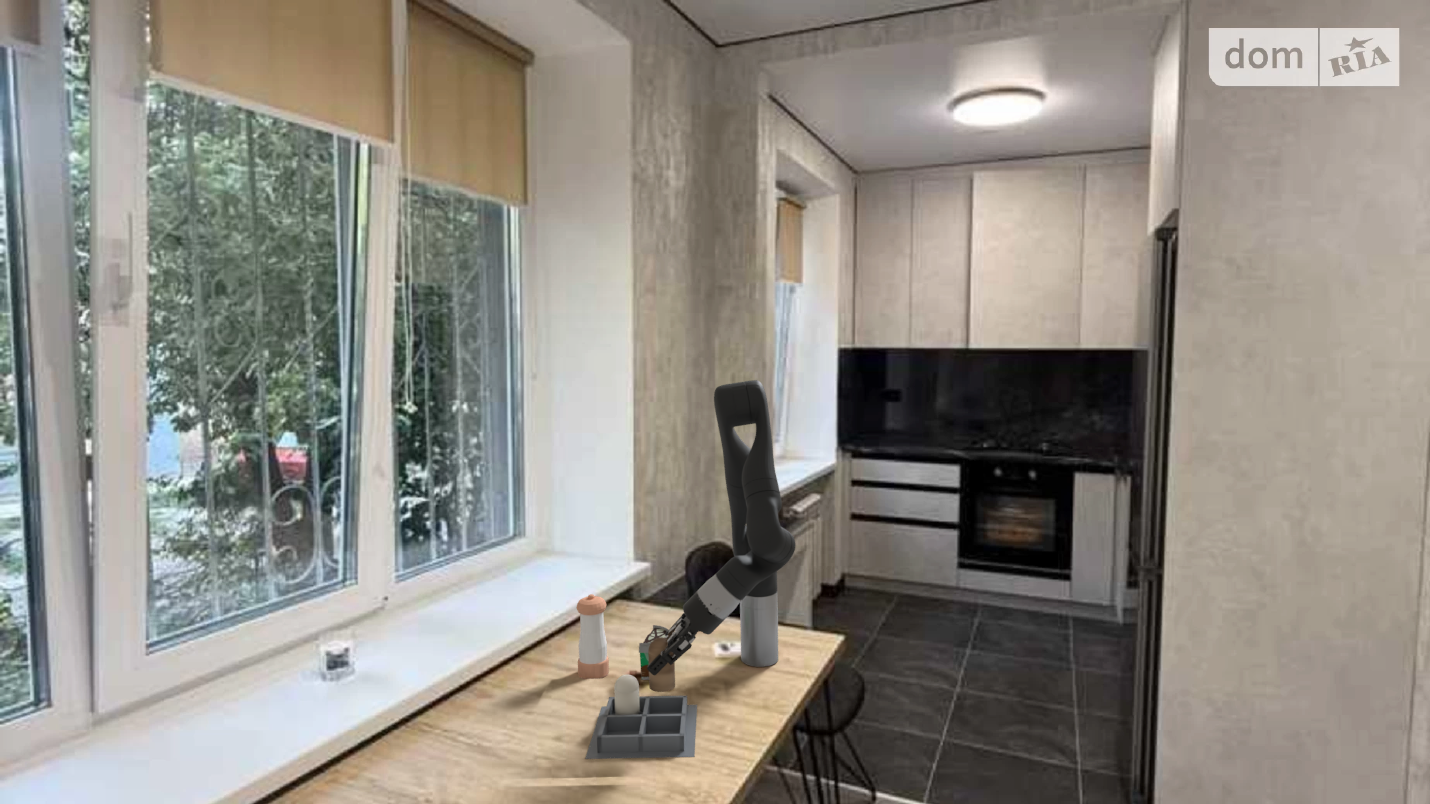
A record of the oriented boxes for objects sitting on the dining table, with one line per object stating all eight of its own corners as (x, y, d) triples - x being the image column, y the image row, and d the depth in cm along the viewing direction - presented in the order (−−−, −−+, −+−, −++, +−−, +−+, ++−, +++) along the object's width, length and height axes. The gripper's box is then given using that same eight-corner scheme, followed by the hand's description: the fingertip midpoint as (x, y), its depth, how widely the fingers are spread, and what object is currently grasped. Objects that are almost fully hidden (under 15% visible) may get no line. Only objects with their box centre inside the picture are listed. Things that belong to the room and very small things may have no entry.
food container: (665, 688, 170) (664, 645, 169) (639, 686, 171) (638, 643, 170) (679, 665, 182) (678, 625, 181) (654, 663, 183) (653, 624, 182)
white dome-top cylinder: (617, 714, 156) (615, 670, 155) (641, 714, 156) (639, 670, 155) (613, 726, 151) (612, 681, 150) (638, 726, 151) (637, 680, 150)
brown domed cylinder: (650, 680, 147) (649, 633, 147) (675, 680, 147) (674, 633, 147) (648, 692, 142) (646, 643, 142) (674, 691, 142) (673, 643, 142)
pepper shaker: (572, 677, 177) (569, 597, 175) (588, 665, 183) (586, 588, 182) (598, 681, 174) (596, 601, 172) (614, 669, 181) (612, 591, 179)
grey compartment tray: (601, 710, 160) (601, 692, 159) (697, 709, 160) (696, 690, 159) (585, 763, 139) (584, 743, 139) (694, 761, 139) (694, 741, 139)
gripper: (699, 578, 151) (641, 638, 151) (697, 602, 136) (633, 668, 137) (726, 604, 151) (668, 663, 152) (727, 630, 137) (663, 695, 138)
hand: (652, 665), depth 144 cm, fingers closed on brown domed cylinder, 5 cm apart
